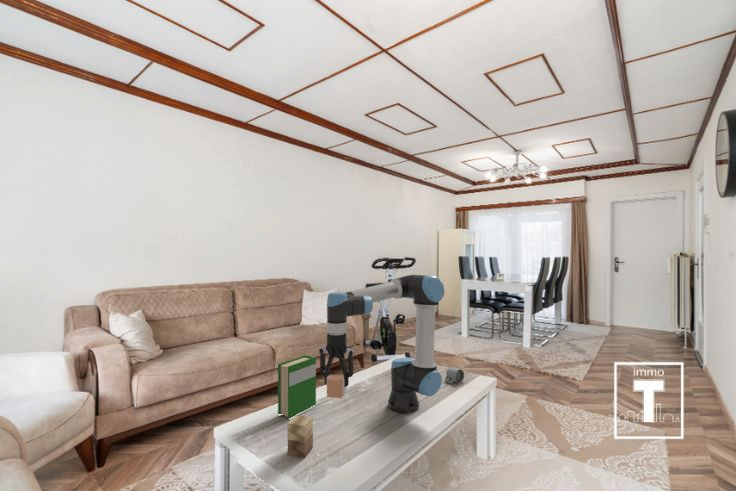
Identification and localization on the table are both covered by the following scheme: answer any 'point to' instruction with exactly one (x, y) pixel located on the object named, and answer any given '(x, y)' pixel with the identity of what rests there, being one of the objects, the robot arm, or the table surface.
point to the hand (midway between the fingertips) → (336, 393)
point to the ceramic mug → (454, 375)
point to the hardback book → (296, 385)
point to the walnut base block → (300, 447)
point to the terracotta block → (334, 386)
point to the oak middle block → (300, 428)
